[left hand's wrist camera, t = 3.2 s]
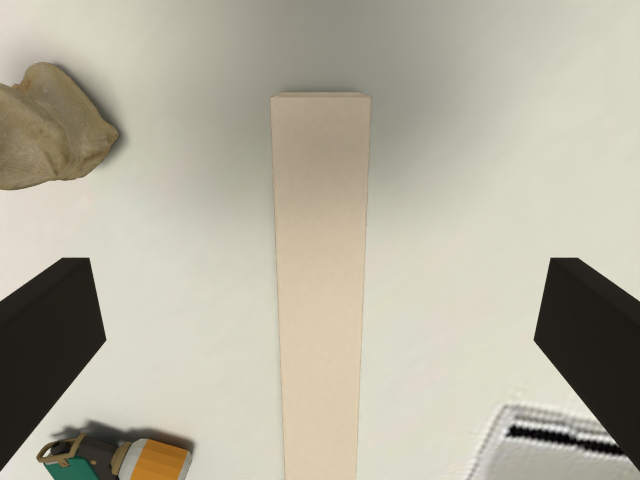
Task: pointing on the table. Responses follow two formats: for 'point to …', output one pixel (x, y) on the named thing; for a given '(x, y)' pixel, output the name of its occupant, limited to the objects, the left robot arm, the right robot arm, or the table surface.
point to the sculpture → (49, 130)
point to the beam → (320, 274)
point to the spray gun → (114, 460)
